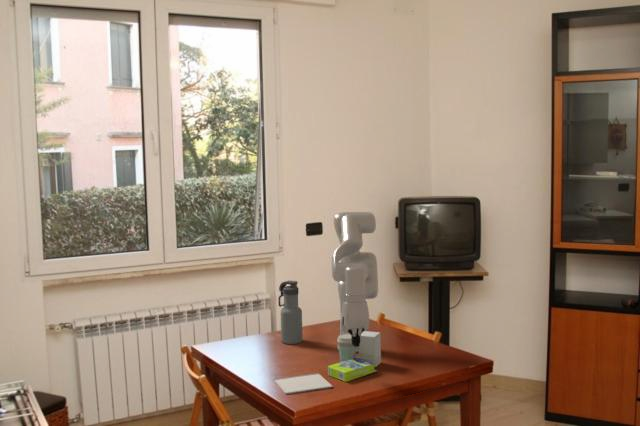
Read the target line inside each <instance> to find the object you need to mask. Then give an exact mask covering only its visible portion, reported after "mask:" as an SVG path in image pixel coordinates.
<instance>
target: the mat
mask: <svg viewBox="0 0 640 426" xmlns="http://www.w3.org/2000/svg"><path fill="white" fill-rule="evenodd" d="M273 381H274V382H275V383H276V385H277V386H278V387H279V388H280V389H281V390H282V391H283V393H285V395H286V396H287V395H294V394H300V393H308V392H314V391H321V390H322V391H323V390H327V389H333V388H334V386H333V385H332V384H331V383H330V382H329V381H327V380H326V379H325V378H324V377H323V376H322V375H321V374H320V373H319V372H315V373H309V374H302V375H295V376H288V377H279V378H274V379H273Z"/></svg>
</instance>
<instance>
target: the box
mask: <svg viewBox="0 0 640 426" xmlns="http://www.w3.org/2000/svg"><path fill="white" fill-rule="evenodd" d="M376 372H378V370H377V369H375V367H374V363H371V362H368V361H365V360H362V359H359V357H356V358H354V359H350V360H347V361H343V362H340V361H339V362H337V363H333V364H330V365H327V375H328V376H329V377H332V378H335V379H337V380H340V381H342V382H345V383H347V382H349V381H353V380H355V379H358V378H362V377H364V376H367V375H369V374H373V373H376Z"/></svg>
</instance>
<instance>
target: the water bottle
mask: <svg viewBox="0 0 640 426" xmlns="http://www.w3.org/2000/svg"><path fill="white" fill-rule="evenodd" d="M287 285H288V286H287ZM278 291H279V292H280V295H279V296H278V297H277V298H278V307H282V308H281V309H280V341H281V342H282V343H283V344H286V345H297V344H300V343H302V341H303V311H302V308H301V307H299V287H298V281H297V280H290V279H288V280H286V281H283V282H281V283H280V284H279V288H278ZM281 297H283V304H282V303H281Z"/></svg>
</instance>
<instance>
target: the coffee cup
mask: <svg viewBox="0 0 640 426" xmlns="http://www.w3.org/2000/svg"><path fill="white" fill-rule="evenodd" d="M336 340H337V345H338V347H339V350H338V353H339V363H340V362H343V361H347V360H350V359H354V358H357V352H356V351H357V347H355V346H353V345H352V342H351V335H350V334H341V333H340V334H339V335H338V337H337V339H336Z"/></svg>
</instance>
